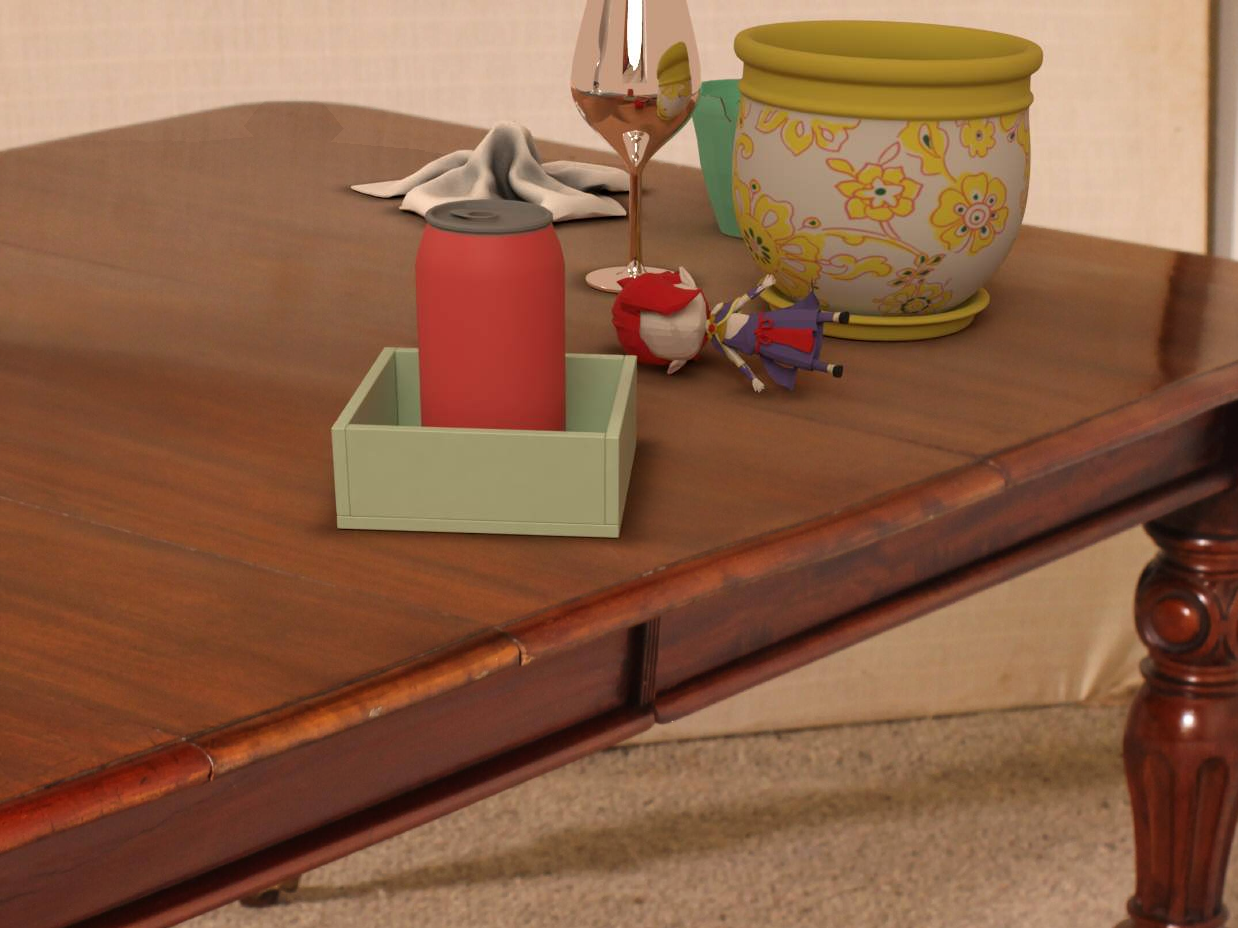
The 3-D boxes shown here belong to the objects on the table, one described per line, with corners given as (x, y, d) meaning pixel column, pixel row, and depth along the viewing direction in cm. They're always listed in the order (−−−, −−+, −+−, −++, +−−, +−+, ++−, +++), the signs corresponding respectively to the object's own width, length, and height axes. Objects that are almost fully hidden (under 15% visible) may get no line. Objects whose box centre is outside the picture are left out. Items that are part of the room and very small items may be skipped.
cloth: (638, 178, 152) (639, 100, 150) (648, 230, 135) (648, 143, 133) (358, 173, 150) (354, 94, 148) (332, 226, 133) (327, 137, 131)
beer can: (467, 440, 91) (460, 190, 86) (591, 461, 89) (590, 206, 84) (395, 483, 85) (383, 218, 80) (525, 506, 83) (521, 236, 78)
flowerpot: (894, 375, 105) (914, 71, 98) (665, 309, 116) (669, 32, 109) (1075, 318, 117) (1104, 45, 110) (852, 264, 128) (866, 12, 121)
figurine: (815, 408, 97) (558, 368, 102) (869, 399, 104) (627, 362, 110) (830, 282, 95) (568, 249, 101) (883, 282, 103) (638, 251, 108)
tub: (337, 528, 82) (331, 427, 80) (388, 437, 93) (384, 346, 91) (618, 538, 82) (619, 437, 80) (636, 445, 93) (637, 355, 91)
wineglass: (545, 279, 122) (542, -13, 114) (639, 260, 127) (641, -20, 120) (630, 305, 117) (632, 1, 109) (724, 284, 122) (732, -7, 115)
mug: (694, 247, 131) (698, 100, 127) (678, 216, 140) (681, 77, 136) (900, 247, 133) (910, 102, 129) (872, 216, 142) (880, 80, 138)
